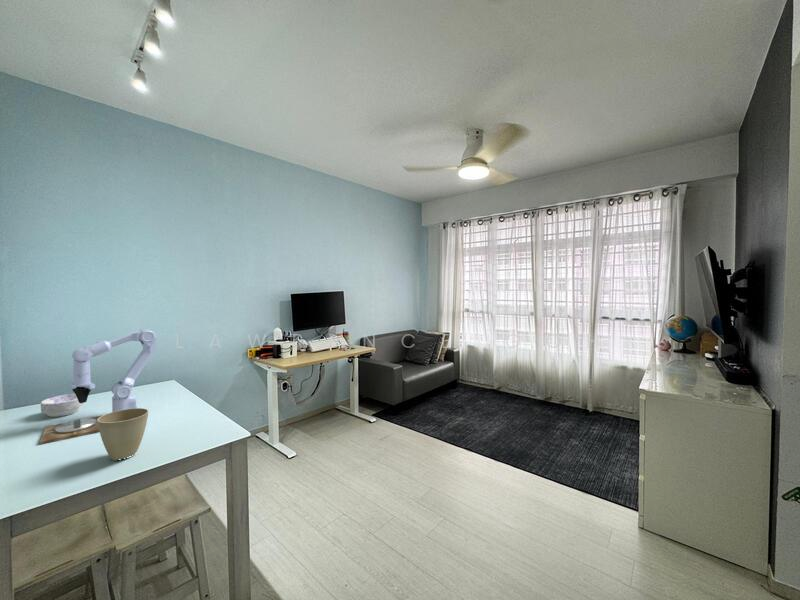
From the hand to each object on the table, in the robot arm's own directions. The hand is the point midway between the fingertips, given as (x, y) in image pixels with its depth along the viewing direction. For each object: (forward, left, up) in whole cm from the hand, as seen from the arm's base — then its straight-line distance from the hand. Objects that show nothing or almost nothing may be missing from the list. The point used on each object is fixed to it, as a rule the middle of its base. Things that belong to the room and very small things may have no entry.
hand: (82, 402), depth 153 cm
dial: (+2, +8, -9) cm, 12 cm away
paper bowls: (+8, -23, -10) cm, 26 cm away
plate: (+2, +8, -10) cm, 13 cm away
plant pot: (-13, +52, -10) cm, 55 cm away
